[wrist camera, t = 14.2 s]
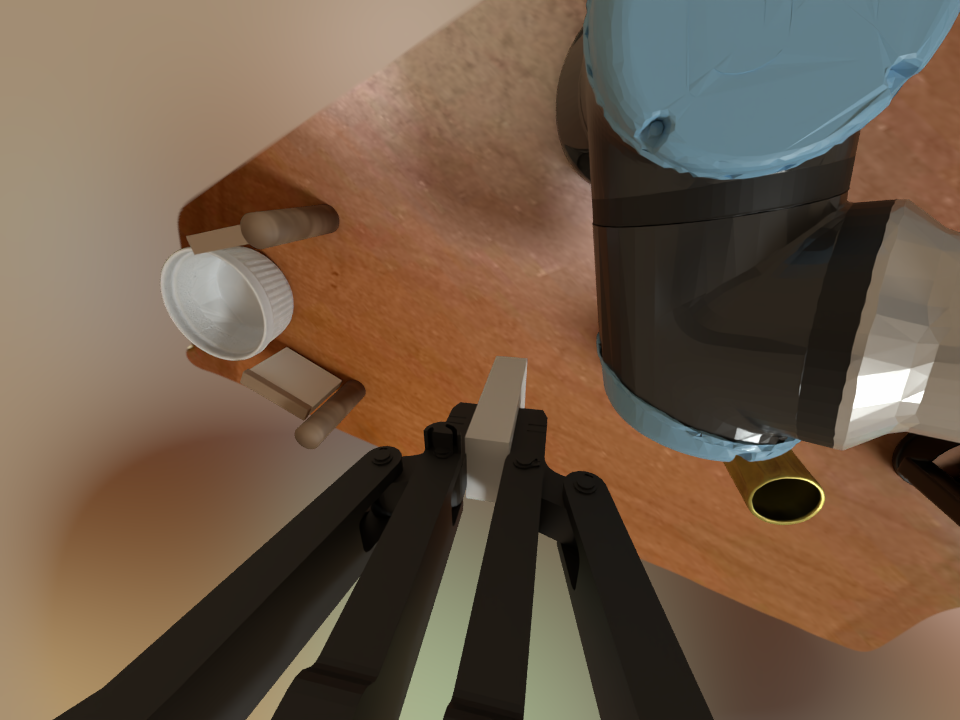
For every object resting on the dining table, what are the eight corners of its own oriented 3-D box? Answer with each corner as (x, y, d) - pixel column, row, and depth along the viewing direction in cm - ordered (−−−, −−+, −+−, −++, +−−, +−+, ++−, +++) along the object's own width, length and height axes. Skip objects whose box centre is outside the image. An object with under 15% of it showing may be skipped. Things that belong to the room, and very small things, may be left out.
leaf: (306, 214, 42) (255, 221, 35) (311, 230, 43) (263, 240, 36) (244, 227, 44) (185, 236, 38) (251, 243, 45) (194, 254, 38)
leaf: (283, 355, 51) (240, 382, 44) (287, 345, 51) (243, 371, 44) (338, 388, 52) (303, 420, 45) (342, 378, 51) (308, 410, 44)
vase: (684, 390, 43) (734, 480, 30) (746, 374, 41) (827, 463, 28) (697, 433, 45) (749, 534, 32) (757, 420, 42) (838, 523, 30)
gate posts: (312, 204, 42) (236, 212, 32) (336, 204, 42) (267, 212, 32) (346, 397, 53) (297, 447, 43) (366, 400, 52) (321, 450, 43)
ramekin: (323, 318, 48) (288, 339, 42) (254, 353, 53) (213, 376, 47) (259, 218, 44) (210, 225, 38) (190, 265, 49) (136, 278, 43)
